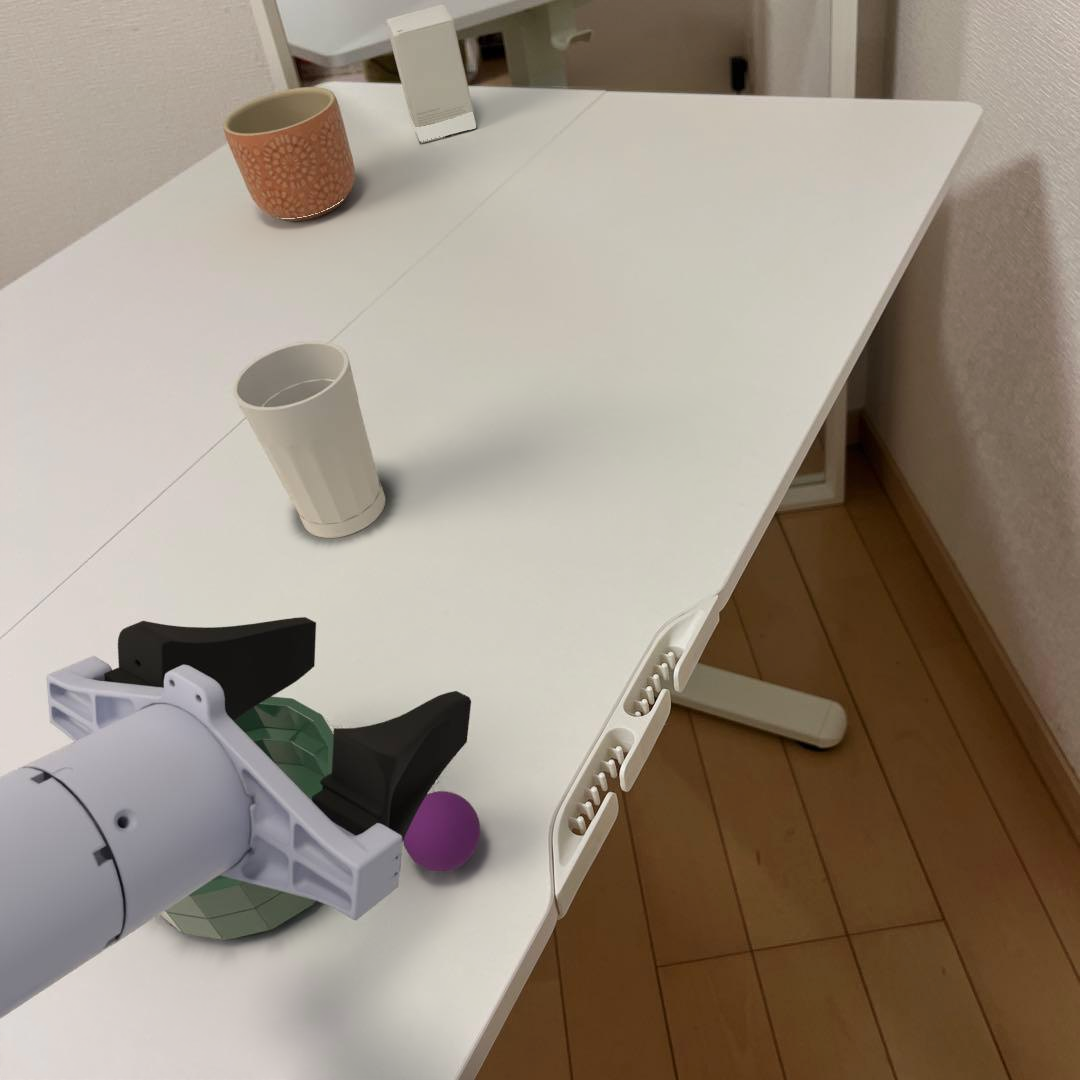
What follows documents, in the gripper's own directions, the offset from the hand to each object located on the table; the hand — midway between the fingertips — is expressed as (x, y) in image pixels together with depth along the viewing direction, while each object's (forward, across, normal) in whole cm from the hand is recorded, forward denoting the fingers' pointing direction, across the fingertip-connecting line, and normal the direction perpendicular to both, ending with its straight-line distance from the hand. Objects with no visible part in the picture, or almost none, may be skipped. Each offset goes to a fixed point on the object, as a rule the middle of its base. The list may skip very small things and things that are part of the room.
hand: (382, 677), depth 42 cm
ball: (+9, +3, +15) cm, 18 cm away
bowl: (+6, +13, +19) cm, 24 cm away
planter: (+65, +68, -3) cm, 94 cm away
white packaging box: (+84, +66, -12) cm, 108 cm away
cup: (+28, +28, +10) cm, 41 cm away
